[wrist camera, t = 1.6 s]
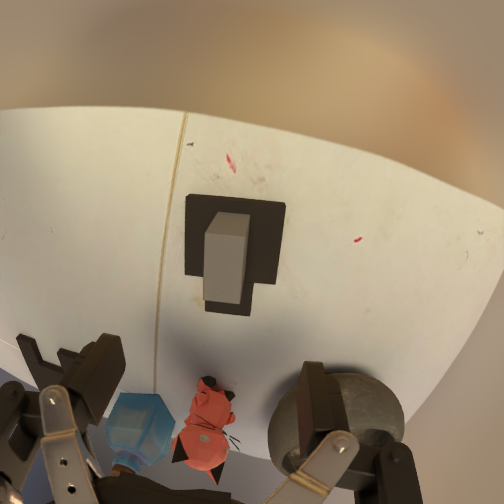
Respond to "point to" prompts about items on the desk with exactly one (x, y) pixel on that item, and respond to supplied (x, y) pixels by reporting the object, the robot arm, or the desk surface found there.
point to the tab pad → (257, 242)
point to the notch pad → (44, 363)
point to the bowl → (358, 414)
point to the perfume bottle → (138, 431)
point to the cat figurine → (206, 430)
